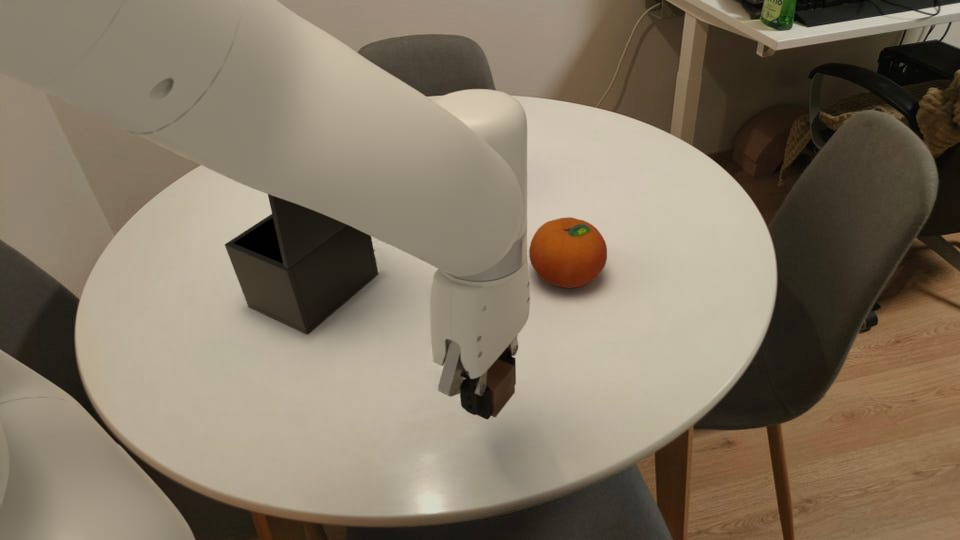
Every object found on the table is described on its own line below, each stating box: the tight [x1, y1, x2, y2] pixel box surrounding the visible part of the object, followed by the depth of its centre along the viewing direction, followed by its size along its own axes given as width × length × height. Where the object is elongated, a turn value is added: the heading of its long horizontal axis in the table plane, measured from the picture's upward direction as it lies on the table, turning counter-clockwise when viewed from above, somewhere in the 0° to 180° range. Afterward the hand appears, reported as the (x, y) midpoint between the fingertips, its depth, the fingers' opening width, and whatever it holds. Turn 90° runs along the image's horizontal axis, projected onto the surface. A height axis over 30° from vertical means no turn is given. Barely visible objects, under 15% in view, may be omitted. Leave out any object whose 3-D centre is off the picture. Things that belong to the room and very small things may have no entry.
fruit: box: [528, 216, 608, 289], centre depth 86 cm, size 11×10×8 cm
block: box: [466, 359, 516, 418], centre depth 61 cm, size 4×4×4 cm
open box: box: [224, 213, 379, 335], centre depth 86 cm, size 12×15×11 cm
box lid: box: [267, 194, 347, 269], centre depth 75 cm, size 12×15×5 cm
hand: (488, 395), depth 62 cm, fingers closed on block, 3 cm apart
